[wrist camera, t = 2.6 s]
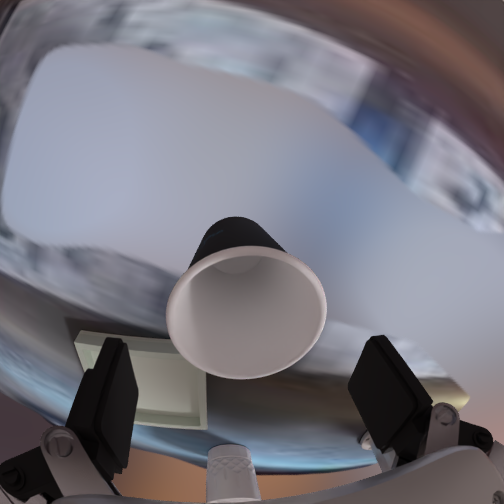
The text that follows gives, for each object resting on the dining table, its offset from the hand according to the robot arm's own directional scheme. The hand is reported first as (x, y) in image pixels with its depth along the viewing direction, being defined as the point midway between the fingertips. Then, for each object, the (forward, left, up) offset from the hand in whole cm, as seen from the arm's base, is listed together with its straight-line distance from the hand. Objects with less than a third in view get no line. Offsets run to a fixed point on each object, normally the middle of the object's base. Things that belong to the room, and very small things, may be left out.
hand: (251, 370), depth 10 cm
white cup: (-1, +35, -15) cm, 38 cm away
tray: (+9, +17, -14) cm, 24 cm away
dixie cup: (0, 0, -15) cm, 15 cm away
